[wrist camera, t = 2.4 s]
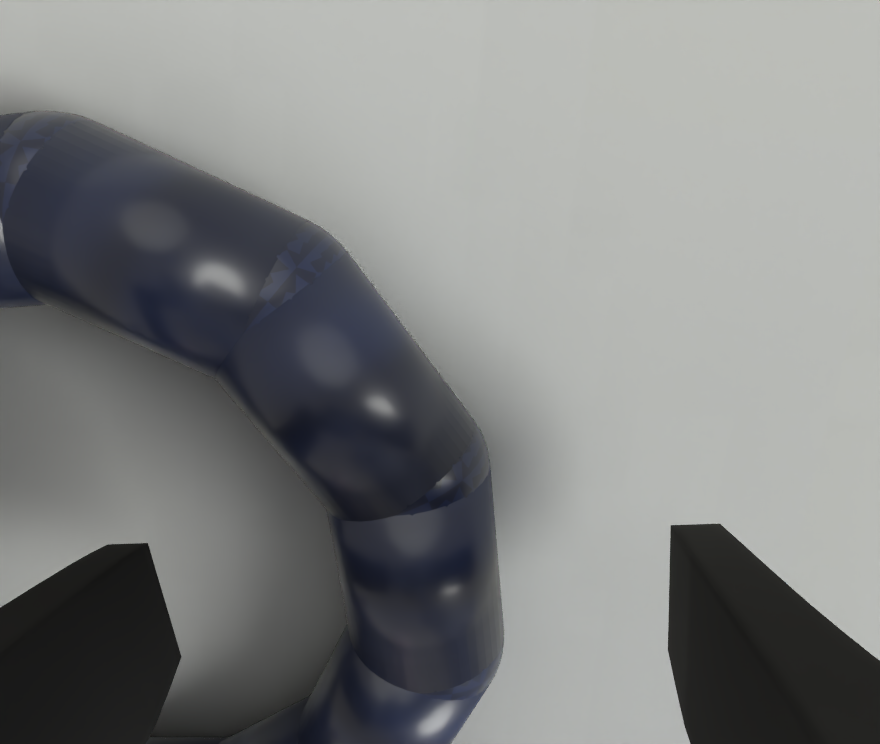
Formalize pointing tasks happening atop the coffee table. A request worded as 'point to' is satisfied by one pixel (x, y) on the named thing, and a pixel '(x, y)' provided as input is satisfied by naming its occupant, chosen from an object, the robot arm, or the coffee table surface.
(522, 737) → the coffee table surface
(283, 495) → the coffee table surface
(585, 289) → the coffee table surface
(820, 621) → the robot arm
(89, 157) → the dark blue ring
